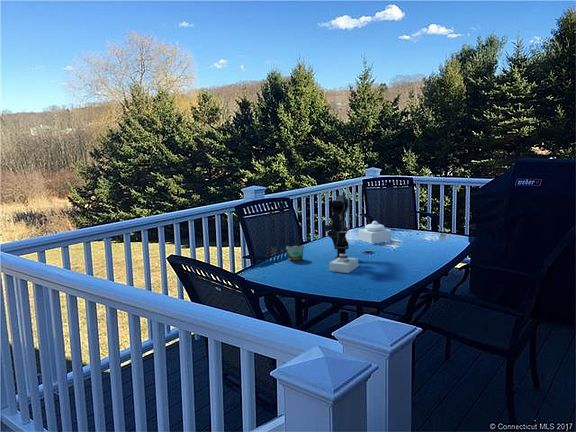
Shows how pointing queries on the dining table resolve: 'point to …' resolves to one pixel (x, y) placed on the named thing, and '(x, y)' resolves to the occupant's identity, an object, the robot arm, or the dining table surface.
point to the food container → (295, 253)
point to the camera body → (343, 265)
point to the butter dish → (374, 233)
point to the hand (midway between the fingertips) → (338, 244)
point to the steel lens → (343, 257)
